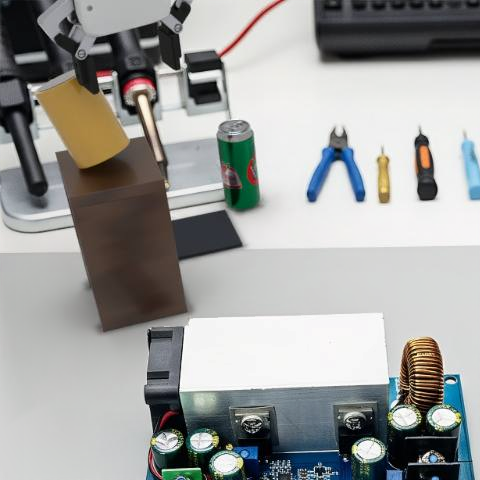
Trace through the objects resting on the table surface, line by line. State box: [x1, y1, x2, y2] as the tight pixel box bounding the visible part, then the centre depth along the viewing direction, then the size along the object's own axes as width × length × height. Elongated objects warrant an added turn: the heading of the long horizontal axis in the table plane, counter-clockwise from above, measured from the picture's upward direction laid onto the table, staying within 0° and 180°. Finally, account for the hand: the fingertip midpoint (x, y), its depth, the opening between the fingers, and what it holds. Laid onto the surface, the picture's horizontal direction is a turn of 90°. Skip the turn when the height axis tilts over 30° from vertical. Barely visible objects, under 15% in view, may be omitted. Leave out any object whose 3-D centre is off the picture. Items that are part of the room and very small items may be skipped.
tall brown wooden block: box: [54, 135, 188, 332], centre depth 120 cm, size 10×10×19 cm
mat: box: [171, 209, 243, 261], centre depth 136 cm, size 9×9×1 cm
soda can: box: [215, 118, 261, 211], centre depth 138 cm, size 5×5×12 cm
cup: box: [33, 69, 130, 169], centre depth 110 cm, size 7×7×9 cm
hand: (131, 77), depth 108 cm, fingers open, 9 cm apart
